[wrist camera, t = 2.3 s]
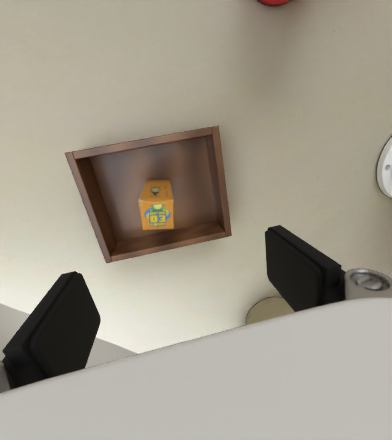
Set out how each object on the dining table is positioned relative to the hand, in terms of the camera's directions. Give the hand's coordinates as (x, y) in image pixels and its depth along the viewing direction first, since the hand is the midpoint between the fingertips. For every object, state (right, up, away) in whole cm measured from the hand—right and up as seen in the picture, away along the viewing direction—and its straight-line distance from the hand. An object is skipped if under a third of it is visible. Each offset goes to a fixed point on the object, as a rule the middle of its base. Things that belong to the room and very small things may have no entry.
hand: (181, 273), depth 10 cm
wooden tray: (-4, +7, +19) cm, 20 cm away
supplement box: (-4, +7, +19) cm, 20 cm away
